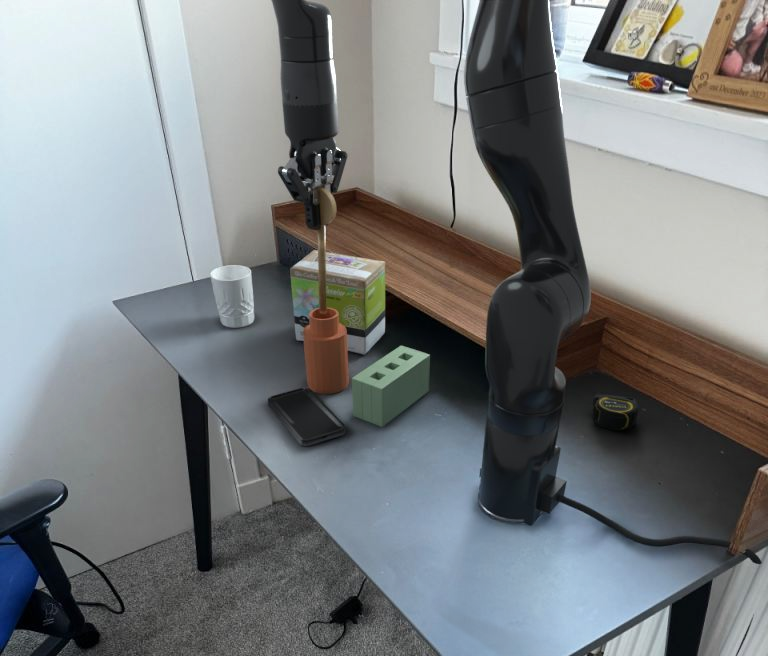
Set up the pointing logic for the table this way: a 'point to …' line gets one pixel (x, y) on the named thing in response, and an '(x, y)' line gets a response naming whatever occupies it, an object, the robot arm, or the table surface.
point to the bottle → (326, 352)
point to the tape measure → (615, 411)
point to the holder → (390, 385)
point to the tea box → (343, 296)
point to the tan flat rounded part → (324, 241)
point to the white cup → (233, 295)
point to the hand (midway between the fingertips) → (318, 226)
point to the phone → (306, 416)
